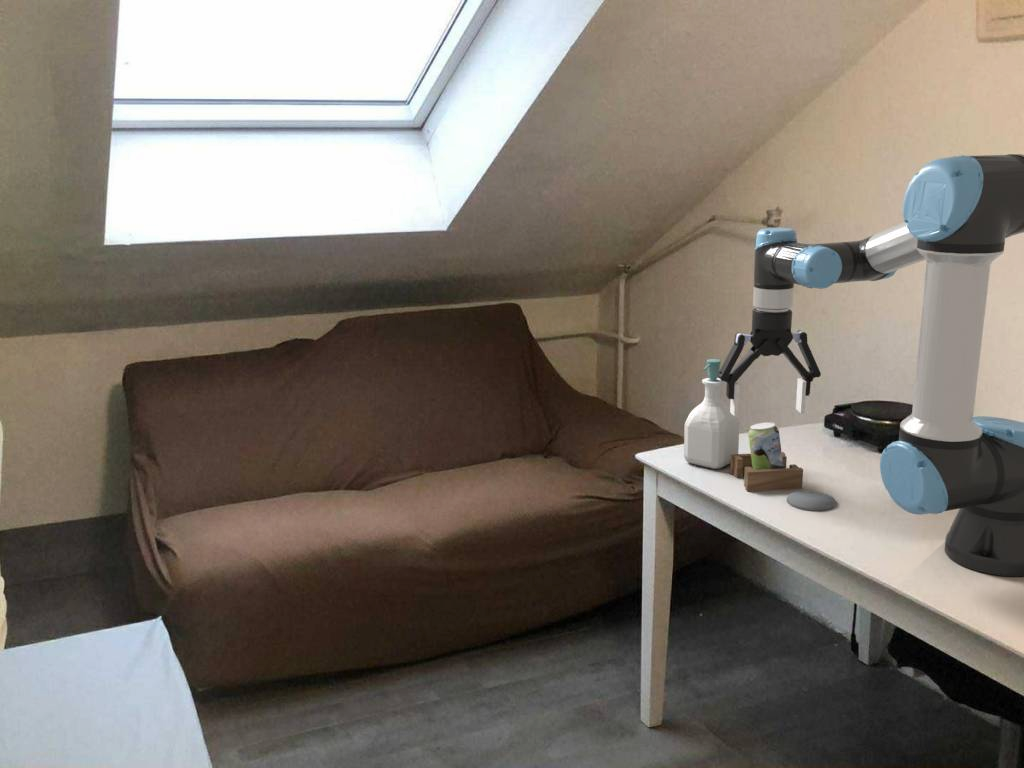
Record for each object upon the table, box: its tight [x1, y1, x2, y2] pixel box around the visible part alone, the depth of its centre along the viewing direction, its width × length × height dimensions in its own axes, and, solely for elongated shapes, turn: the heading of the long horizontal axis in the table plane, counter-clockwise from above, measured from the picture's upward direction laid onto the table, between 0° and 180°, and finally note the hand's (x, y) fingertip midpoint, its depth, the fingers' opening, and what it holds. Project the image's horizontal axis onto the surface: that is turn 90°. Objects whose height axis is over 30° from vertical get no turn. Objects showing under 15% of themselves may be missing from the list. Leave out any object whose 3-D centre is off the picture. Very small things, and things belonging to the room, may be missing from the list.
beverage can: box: [748, 421, 783, 470], centre depth 194 cm, size 6×7×12 cm
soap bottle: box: [683, 358, 740, 470], centre depth 205 cm, size 10×10×23 cm
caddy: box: [729, 451, 804, 492], centre depth 195 cm, size 11×11×4 cm
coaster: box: [786, 490, 837, 512], centre depth 184 cm, size 9×9×1 cm
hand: (767, 412), depth 193 cm, fingers open, 13 cm apart
